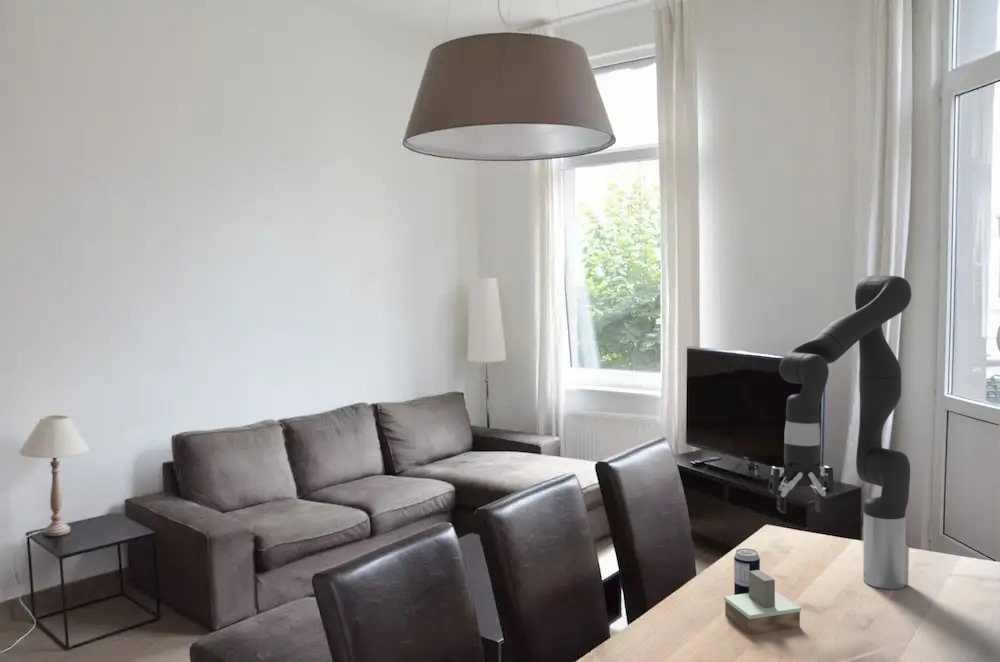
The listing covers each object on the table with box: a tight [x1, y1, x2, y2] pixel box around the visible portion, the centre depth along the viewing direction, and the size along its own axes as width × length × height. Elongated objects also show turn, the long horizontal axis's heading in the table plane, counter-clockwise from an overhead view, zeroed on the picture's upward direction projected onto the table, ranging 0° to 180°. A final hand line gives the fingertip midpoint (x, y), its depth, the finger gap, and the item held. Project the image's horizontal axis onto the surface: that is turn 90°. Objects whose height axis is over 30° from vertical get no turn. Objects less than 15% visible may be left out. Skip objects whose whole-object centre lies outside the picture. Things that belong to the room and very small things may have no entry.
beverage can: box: [733, 548, 761, 595], centre depth 183 cm, size 6×6×12 cm
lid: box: [723, 570, 802, 619], centre depth 172 cm, size 12×10×7 cm
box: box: [724, 600, 801, 635], centre depth 172 cm, size 12×10×4 cm
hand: (800, 512), depth 178 cm, fingers open, 8 cm apart
